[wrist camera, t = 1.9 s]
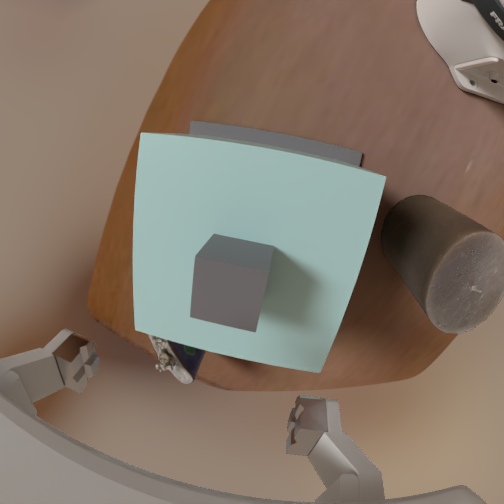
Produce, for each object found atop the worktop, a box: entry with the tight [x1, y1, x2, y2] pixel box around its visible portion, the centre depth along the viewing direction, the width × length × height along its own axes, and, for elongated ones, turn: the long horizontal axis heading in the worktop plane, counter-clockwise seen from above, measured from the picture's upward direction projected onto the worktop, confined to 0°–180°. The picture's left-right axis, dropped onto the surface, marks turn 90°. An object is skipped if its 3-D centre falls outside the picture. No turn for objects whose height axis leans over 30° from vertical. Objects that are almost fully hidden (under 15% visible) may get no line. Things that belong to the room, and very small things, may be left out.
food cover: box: [133, 133, 386, 373], centre depth 24 cm, size 16×16×18 cm
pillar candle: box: [381, 195, 504, 334], centre depth 24 cm, size 10×10×15 cm
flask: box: [148, 334, 206, 384], centre depth 35 cm, size 9×3×11 cm, turn 22°
